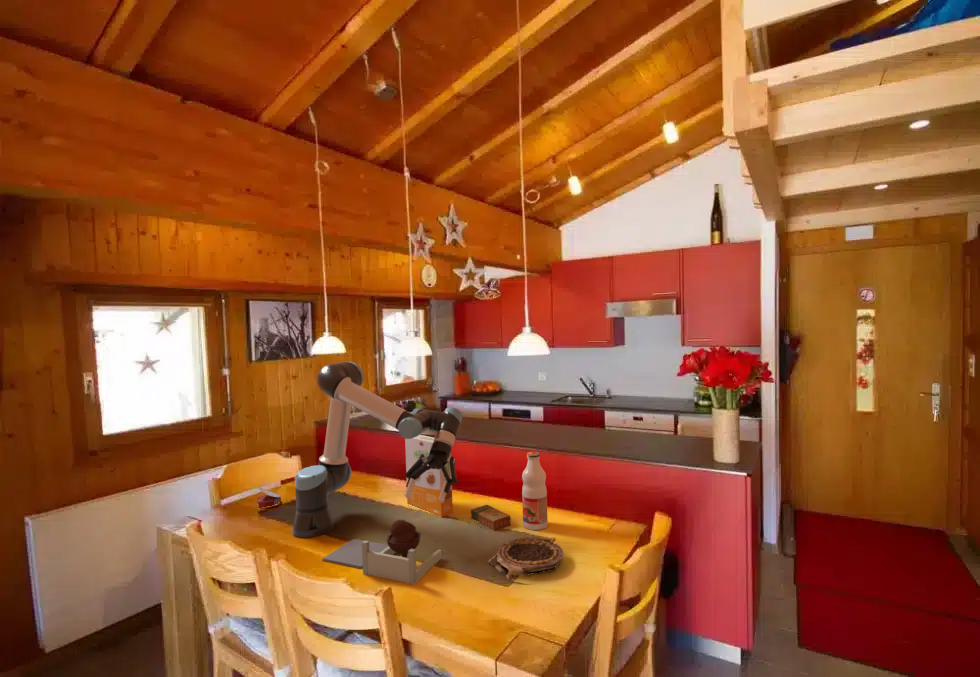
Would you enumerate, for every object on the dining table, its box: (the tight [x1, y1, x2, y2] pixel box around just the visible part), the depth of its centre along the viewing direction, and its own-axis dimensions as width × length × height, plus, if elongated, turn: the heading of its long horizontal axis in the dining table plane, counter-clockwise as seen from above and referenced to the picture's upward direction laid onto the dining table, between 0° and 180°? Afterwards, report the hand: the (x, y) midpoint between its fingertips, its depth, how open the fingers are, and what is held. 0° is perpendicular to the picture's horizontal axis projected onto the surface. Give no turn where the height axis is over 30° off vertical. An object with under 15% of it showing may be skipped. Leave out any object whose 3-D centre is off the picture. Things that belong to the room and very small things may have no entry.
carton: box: [470, 504, 512, 532], centre depth 193 cm, size 8×16×4 cm, turn 35°
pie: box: [487, 536, 565, 585], centre depth 159 cm, size 28×27×5 cm
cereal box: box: [404, 434, 454, 518], centre depth 209 cm, size 22×6×30 cm, turn 47°
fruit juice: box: [521, 451, 549, 531], centre depth 188 cm, size 9×9×28 cm
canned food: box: [256, 486, 282, 507], centre depth 221 cm, size 11×10×10 cm
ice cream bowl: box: [386, 519, 421, 558], centre depth 160 cm, size 11×11×15 cm
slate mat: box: [322, 538, 388, 570], centre depth 169 cm, size 16×16×1 cm
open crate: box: [362, 540, 443, 586], centre depth 159 cm, size 19×17×10 cm
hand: (423, 498), depth 170 cm, fingers open, 13 cm apart
